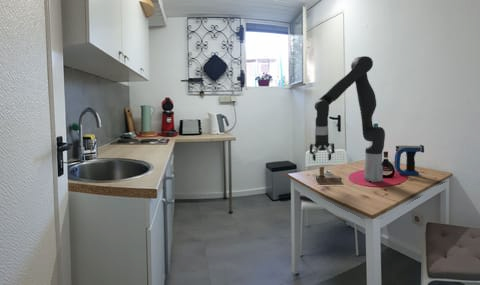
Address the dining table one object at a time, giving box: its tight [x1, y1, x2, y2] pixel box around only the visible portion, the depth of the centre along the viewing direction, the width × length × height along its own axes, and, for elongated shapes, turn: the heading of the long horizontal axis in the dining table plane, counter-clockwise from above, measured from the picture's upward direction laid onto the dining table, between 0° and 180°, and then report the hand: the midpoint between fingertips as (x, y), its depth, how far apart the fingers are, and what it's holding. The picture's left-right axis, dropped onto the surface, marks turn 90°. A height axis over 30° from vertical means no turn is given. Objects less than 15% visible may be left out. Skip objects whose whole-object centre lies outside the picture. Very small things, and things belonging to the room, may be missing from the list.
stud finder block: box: [324, 170, 334, 175], centre depth 168 cm, size 5×7×4 cm
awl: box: [319, 166, 325, 177], centre depth 161 cm, size 3×3×9 cm
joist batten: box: [315, 174, 343, 184], centre depth 161 cm, size 14×5×3 cm, turn 85°
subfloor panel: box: [311, 173, 320, 181], centre depth 169 cm, size 14×21×1 cm, turn 175°
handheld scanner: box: [394, 144, 425, 176], centre depth 175 cm, size 5×16×20 cm, turn 78°
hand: (321, 160), depth 161 cm, fingers open, 8 cm apart
